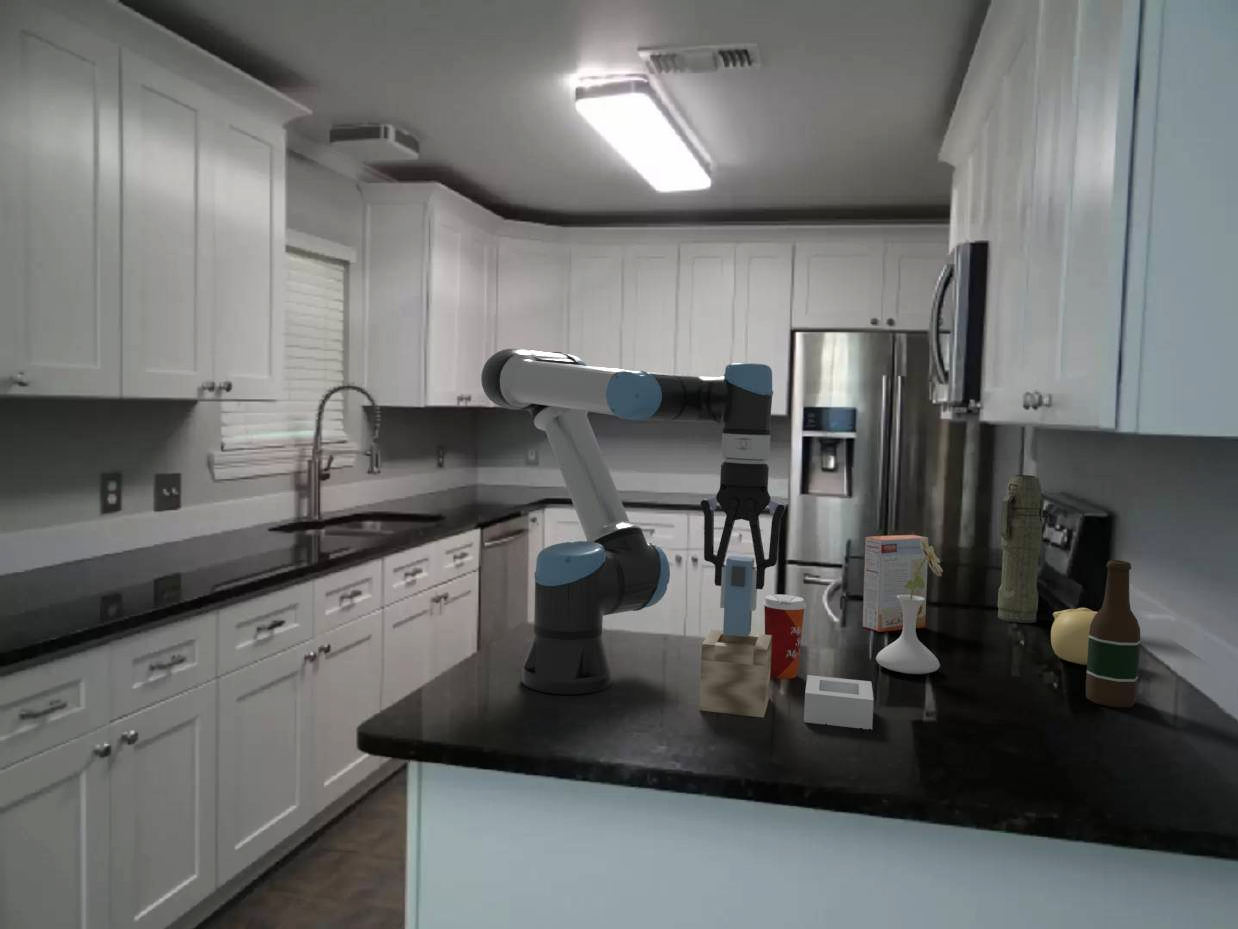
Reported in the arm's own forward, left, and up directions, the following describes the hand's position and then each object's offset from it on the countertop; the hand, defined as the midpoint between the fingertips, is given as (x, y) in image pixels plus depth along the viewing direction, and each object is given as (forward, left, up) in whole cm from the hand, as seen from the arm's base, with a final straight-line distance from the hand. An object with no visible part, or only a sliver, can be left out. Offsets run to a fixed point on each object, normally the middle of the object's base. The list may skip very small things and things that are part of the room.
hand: (738, 607), depth 141 cm
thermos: (+58, +90, -16) cm, 108 cm away
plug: (0, 0, -4) cm, 4 cm away
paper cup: (+6, +20, -16) cm, 26 cm away
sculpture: (+63, +51, -16) cm, 83 cm away
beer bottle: (+61, +24, -16) cm, 68 cm away
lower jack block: (+16, 0, -16) cm, 22 cm away
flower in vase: (+29, +32, -16) cm, 46 cm away
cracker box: (+28, +68, -16) cm, 75 cm away
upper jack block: (0, 0, -16) cm, 16 cm away
